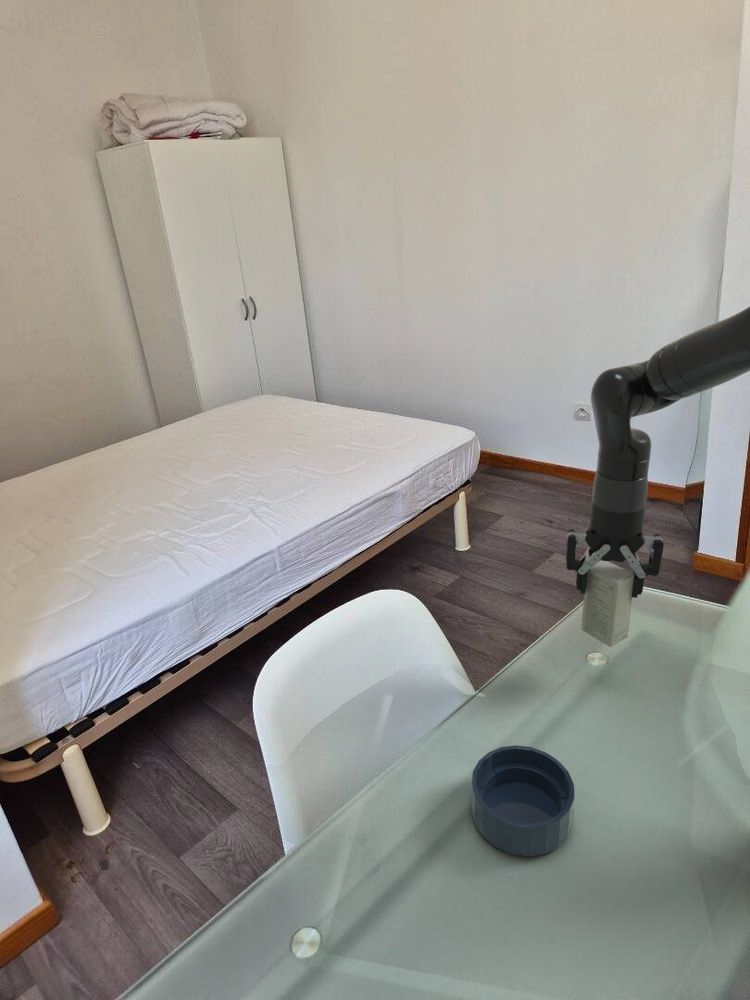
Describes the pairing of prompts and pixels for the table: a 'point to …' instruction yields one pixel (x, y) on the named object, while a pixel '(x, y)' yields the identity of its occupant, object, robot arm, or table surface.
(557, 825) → the bowl
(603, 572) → the cosmetic box
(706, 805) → the table surface
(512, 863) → the table surface
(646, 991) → the table surface
